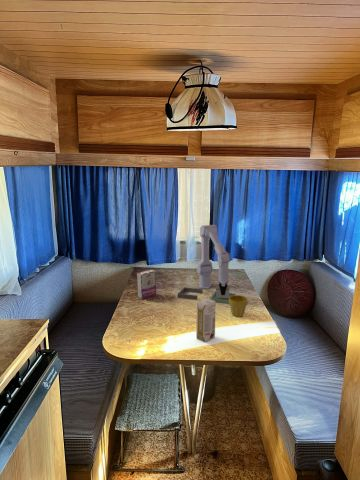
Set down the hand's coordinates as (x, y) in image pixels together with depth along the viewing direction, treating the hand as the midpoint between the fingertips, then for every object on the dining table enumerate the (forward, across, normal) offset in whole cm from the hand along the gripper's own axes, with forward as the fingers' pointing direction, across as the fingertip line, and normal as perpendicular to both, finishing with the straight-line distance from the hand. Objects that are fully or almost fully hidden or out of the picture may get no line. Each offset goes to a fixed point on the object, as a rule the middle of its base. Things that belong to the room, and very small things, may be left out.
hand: (223, 293), depth 228 cm
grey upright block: (+2, 0, 0) cm, 2 cm away
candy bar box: (+4, +1, -48) cm, 48 cm away
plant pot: (+4, +23, +8) cm, 25 cm away
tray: (+4, 0, 0) cm, 4 cm away
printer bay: (+4, -4, -20) cm, 21 cm away
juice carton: (+4, +54, -8) cm, 54 cm away
